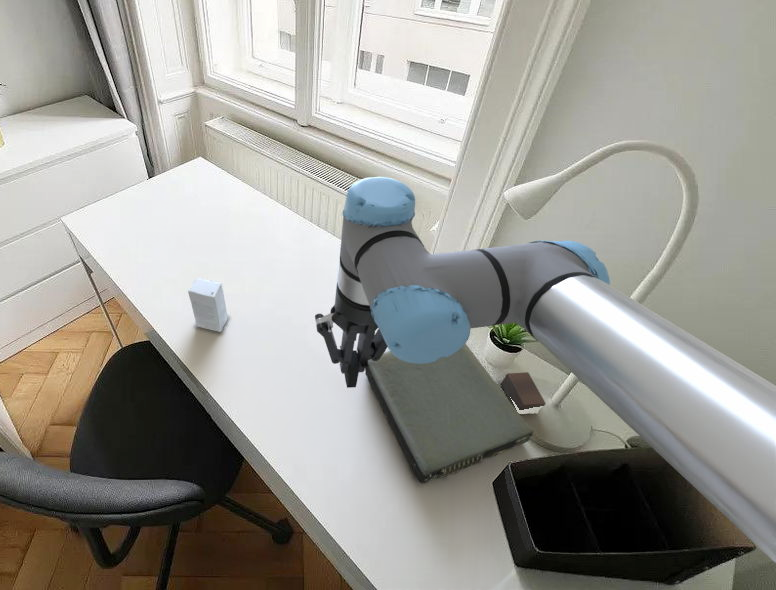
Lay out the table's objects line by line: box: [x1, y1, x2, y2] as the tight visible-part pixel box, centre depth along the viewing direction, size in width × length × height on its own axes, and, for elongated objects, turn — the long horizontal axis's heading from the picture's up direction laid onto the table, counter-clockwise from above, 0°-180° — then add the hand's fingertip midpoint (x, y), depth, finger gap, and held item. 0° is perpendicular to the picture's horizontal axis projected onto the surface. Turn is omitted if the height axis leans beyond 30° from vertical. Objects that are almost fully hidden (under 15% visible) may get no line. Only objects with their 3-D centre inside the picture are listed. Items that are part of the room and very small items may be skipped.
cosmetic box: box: [187, 277, 229, 333], centre depth 88 cm, size 6×4×12 cm
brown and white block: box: [500, 371, 547, 410], centre depth 75 cm, size 6×4×4 cm, turn 3°
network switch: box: [365, 342, 534, 484], centre depth 74 cm, size 23×24×5 cm
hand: (349, 379), depth 68 cm, fingers closed
